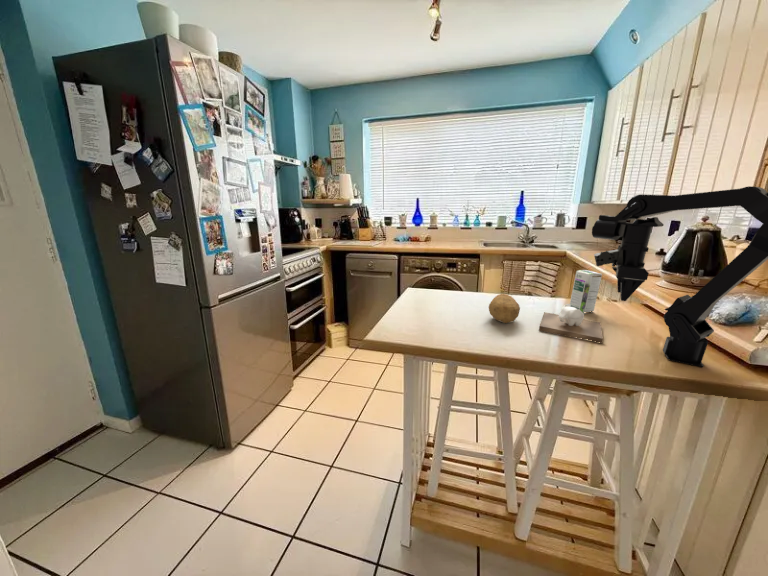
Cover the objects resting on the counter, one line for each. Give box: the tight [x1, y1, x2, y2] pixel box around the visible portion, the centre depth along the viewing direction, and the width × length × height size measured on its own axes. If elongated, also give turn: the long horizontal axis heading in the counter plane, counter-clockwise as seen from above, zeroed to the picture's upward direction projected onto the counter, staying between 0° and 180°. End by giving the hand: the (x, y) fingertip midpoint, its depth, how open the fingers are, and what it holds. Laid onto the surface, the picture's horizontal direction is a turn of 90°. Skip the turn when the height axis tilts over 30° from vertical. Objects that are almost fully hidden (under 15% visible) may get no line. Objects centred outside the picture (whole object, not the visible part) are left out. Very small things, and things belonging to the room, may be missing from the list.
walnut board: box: [538, 311, 604, 344], centre depth 95 cm, size 16×14×2 cm
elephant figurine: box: [558, 303, 586, 326], centre depth 94 cm, size 7×8×6 cm
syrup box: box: [569, 269, 603, 314], centre depth 109 cm, size 6×6×14 cm
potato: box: [488, 293, 521, 324], centre depth 100 cm, size 10×14×8 cm
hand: (621, 296), depth 88 cm, fingers open, 9 cm apart
